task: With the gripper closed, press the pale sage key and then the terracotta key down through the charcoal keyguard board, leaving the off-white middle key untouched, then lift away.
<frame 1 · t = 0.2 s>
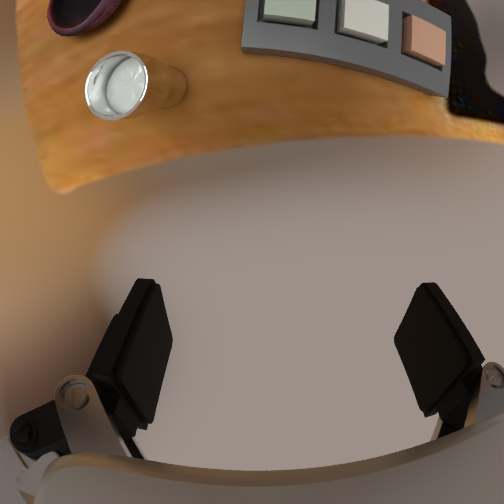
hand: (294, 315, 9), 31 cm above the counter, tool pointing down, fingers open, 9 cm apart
terracotta key: (423, 40, 22), point 5 cm above the counter, slide at 0.0 cm
white key: (363, 17, 21), point 5 cm above the counter, slide at 0.0 cm
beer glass: (166, 87, 31), on the counter
sage key: (289, 1, 21), point 5 cm above the counter, slide at 0.0 cm
keyguard board: (351, 25, 25), on the counter
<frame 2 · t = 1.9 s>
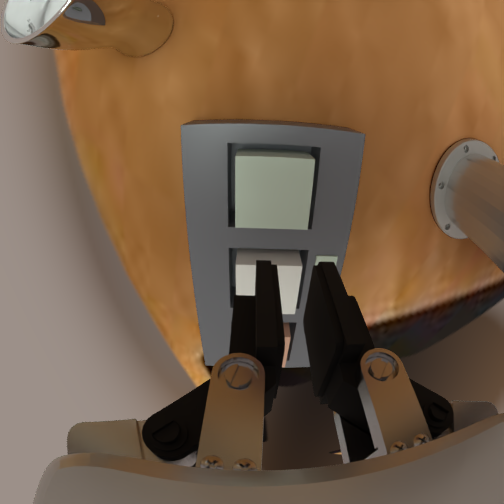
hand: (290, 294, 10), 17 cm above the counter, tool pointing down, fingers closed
terracotta key: (262, 343, 30), point 5 cm above the counter, slide at 0.0 cm
white key: (266, 281, 26), point 4 cm above the counter, slide at 0.0 cm
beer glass: (143, 29, 17), on the counter
sage key: (272, 187, 21), point 4 cm above the counter, slide at 0.0 cm
keyguard board: (265, 255, 30), on the counter
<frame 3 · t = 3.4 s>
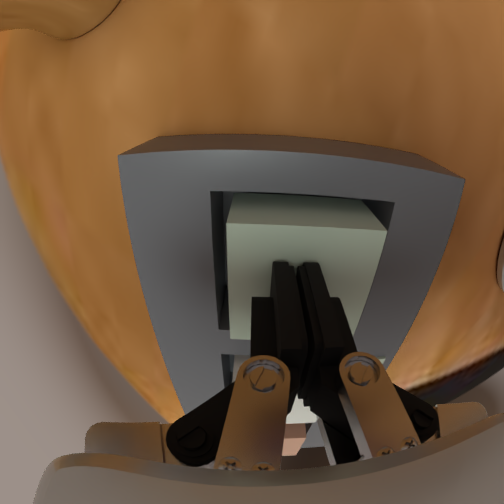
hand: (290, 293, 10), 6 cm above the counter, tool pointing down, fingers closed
terracotta key: (268, 434, 21), point 4 cm above the counter, slide at 0.0 cm
white key: (279, 387, 16), point 4 cm above the counter, slide at 0.0 cm
sage key: (297, 270, 12), point 4 cm above the counter, slide at 0.3 cm, touching gripper
keyguard board: (276, 336, 20), on the counter
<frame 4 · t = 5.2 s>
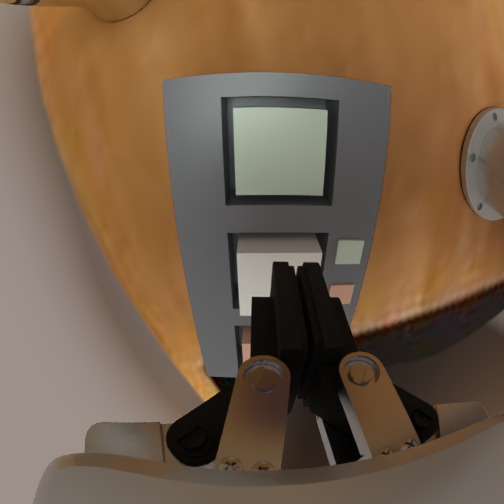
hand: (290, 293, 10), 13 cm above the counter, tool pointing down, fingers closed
terracotta key: (273, 350, 25), point 4 cm above the counter, slide at 0.0 cm
white key: (277, 274, 21), point 4 cm above the counter, slide at 0.0 cm
sage key: (278, 148, 17), point 3 cm above the counter, slide at 1.5 cm
keyguard board: (274, 244, 24), on the counter
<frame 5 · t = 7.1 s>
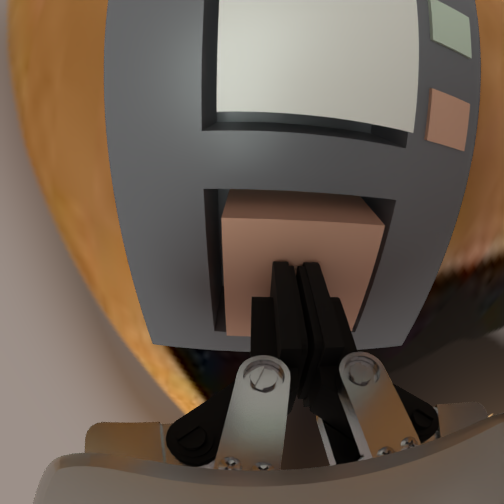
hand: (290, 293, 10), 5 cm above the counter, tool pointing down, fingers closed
terracotta key: (294, 265, 12), point 4 cm above the counter, slide at 0.7 cm, touching gripper
white key: (316, 33, 6), point 4 cm above the counter, slide at 0.0 cm
keyguard board: (297, 53, 10), on the counter
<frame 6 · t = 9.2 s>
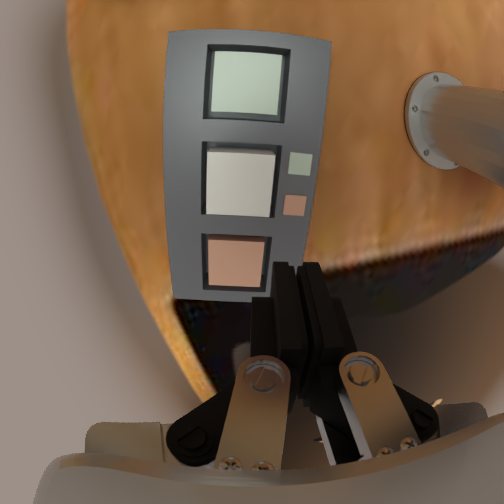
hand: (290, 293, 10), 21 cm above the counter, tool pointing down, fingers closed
terracotta key: (235, 257, 30), point 3 cm above the counter, slide at 1.5 cm
white key: (239, 180, 24), point 4 cm above the counter, slide at 0.0 cm
sage key: (246, 83, 21), point 3 cm above the counter, slide at 1.5 cm
keyguard board: (240, 169, 28), on the counter
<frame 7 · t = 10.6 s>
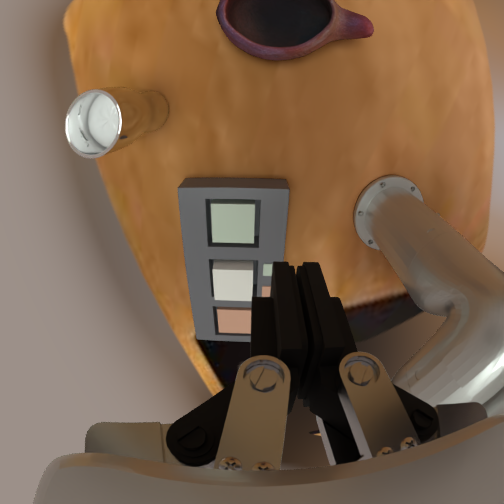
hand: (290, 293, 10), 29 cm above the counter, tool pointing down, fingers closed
bowl: (284, 20, 26), on the counter
terracotta key: (235, 315, 47), point 3 cm above the counter, slide at 1.5 cm
white key: (233, 279, 41), point 5 cm above the counter, slide at 0.0 cm
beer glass: (149, 111, 32), on the counter
sage key: (233, 219, 37), point 3 cm above the counter, slide at 1.5 cm
keyguard board: (235, 262, 45), on the counter
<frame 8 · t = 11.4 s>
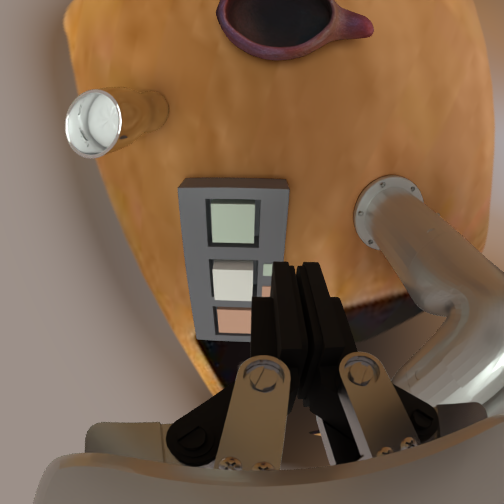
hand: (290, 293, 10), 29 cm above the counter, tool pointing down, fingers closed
bowl: (284, 20, 26), on the counter
terracotta key: (235, 315, 47), point 3 cm above the counter, slide at 1.5 cm
white key: (233, 279, 41), point 4 cm above the counter, slide at 0.0 cm
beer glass: (148, 111, 32), on the counter
sage key: (233, 219, 37), point 3 cm above the counter, slide at 1.5 cm
keyguard board: (235, 262, 45), on the counter
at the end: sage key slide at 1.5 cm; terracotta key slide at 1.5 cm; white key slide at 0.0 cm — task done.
